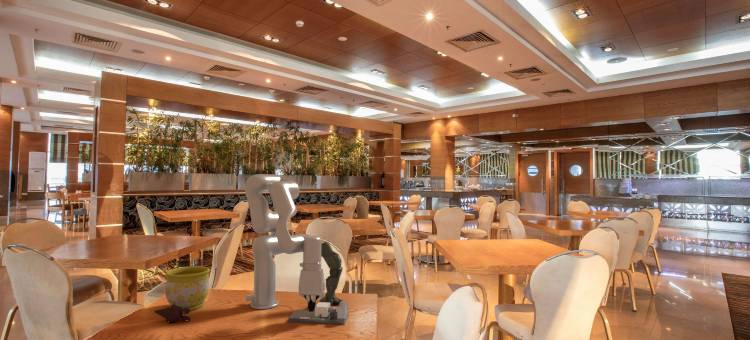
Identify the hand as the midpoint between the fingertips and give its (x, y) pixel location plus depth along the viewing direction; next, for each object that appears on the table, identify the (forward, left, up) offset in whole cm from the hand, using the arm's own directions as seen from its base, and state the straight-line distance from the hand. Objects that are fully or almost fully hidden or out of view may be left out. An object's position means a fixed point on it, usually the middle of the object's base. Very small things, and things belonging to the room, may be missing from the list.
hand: (311, 310), depth 160 cm
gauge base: (+3, 0, -3) cm, 4 cm away
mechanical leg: (+3, +20, -3) cm, 21 cm away
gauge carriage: (+6, -1, -1) cm, 6 cm away
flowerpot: (-59, +7, -3) cm, 59 cm away
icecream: (-55, -10, -3) cm, 56 cm away
